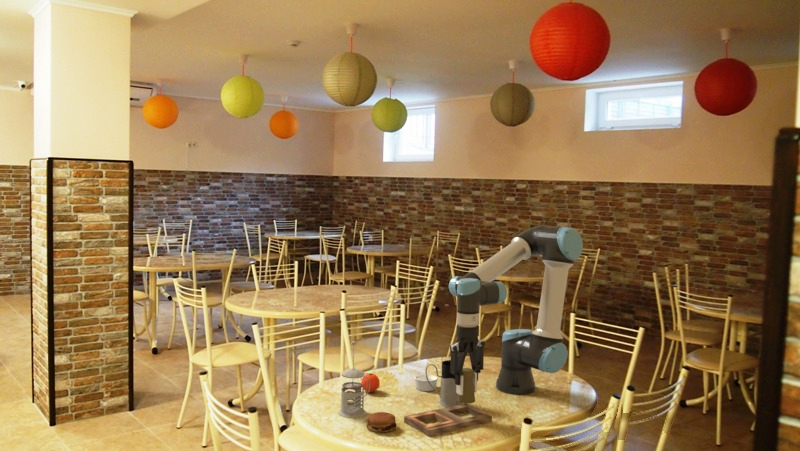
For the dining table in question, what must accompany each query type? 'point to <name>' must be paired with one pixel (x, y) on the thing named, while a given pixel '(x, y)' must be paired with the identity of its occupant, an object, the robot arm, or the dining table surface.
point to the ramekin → (425, 382)
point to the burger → (381, 422)
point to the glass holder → (446, 386)
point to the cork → (467, 387)
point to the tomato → (373, 382)
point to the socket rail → (447, 419)
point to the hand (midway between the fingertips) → (466, 392)
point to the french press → (352, 393)
